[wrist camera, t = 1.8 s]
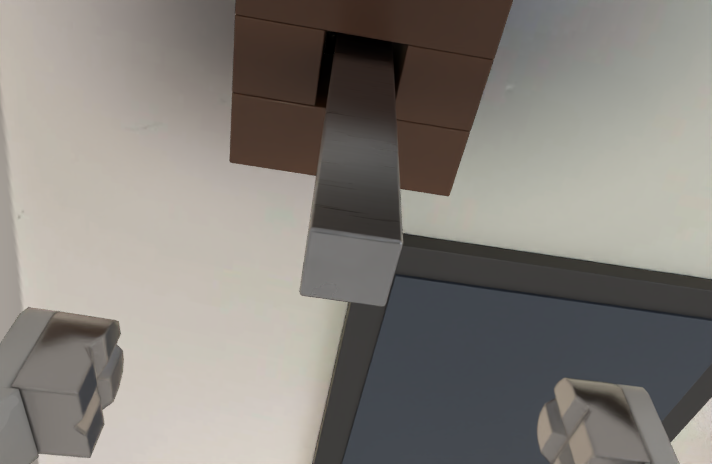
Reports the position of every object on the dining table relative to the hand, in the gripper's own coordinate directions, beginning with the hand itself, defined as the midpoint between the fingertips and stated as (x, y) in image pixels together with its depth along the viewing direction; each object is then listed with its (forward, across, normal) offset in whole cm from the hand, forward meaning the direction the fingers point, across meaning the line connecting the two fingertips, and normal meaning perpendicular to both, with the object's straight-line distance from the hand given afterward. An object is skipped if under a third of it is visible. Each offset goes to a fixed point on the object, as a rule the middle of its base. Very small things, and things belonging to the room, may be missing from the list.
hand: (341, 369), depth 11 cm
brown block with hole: (+18, 0, 0) cm, 18 cm away
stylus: (+18, 0, 0) cm, 18 cm away
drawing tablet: (+18, -14, +30) cm, 38 cm away
